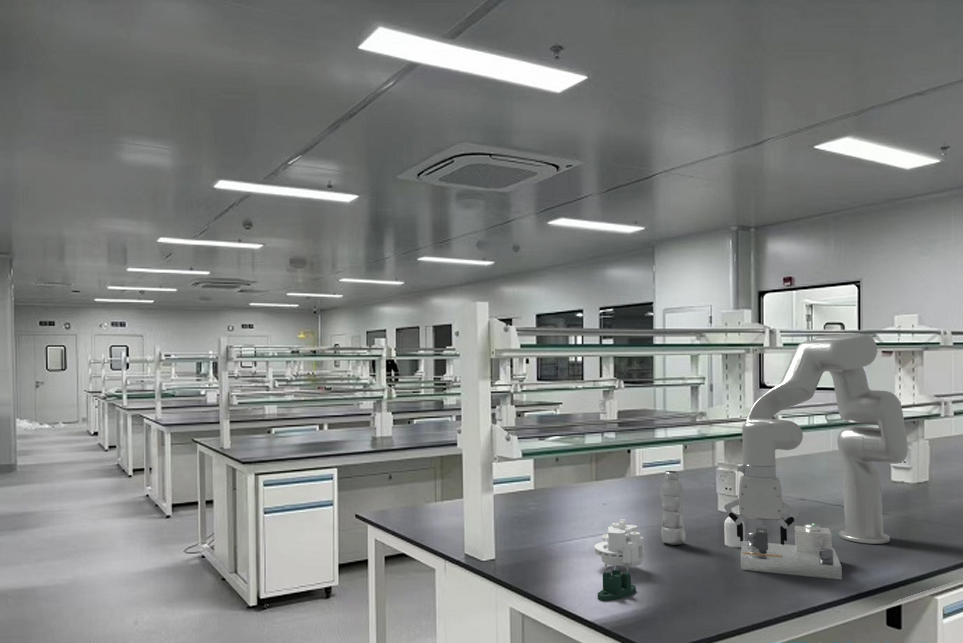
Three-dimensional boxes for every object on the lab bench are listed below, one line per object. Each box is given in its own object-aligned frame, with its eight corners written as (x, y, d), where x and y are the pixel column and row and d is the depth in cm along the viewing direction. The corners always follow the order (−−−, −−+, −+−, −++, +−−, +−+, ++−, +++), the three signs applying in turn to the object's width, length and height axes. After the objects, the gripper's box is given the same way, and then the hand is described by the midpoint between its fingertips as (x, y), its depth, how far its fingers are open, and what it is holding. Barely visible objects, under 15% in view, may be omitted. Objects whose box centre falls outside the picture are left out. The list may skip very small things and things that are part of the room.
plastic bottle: (666, 539, 194) (665, 469, 195) (689, 543, 189) (687, 471, 190) (657, 544, 189) (655, 472, 190) (680, 548, 184) (678, 474, 185)
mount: (607, 604, 144) (606, 580, 144) (592, 598, 148) (591, 574, 148) (641, 593, 150) (641, 570, 151) (626, 587, 154) (625, 565, 154)
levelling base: (742, 552, 180) (740, 515, 181) (834, 560, 172) (833, 521, 173) (740, 569, 166) (739, 529, 166) (841, 579, 157) (840, 537, 158)
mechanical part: (608, 559, 175) (607, 513, 176) (651, 568, 167) (650, 519, 168) (585, 570, 166) (584, 521, 167) (630, 580, 159) (629, 529, 159)
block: (756, 547, 172) (755, 524, 172) (767, 548, 171) (766, 524, 171) (756, 556, 164) (755, 531, 165) (768, 557, 163) (767, 532, 164)
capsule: (735, 541, 191) (734, 512, 191) (749, 546, 186) (748, 516, 187) (720, 543, 189) (719, 514, 190) (734, 548, 184) (733, 518, 185)
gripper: (722, 472, 168) (724, 542, 167) (798, 476, 162) (801, 549, 161) (723, 467, 175) (725, 535, 174) (796, 471, 169) (799, 541, 168)
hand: (761, 541), depth 168 cm, fingers open, 9 cm apart
